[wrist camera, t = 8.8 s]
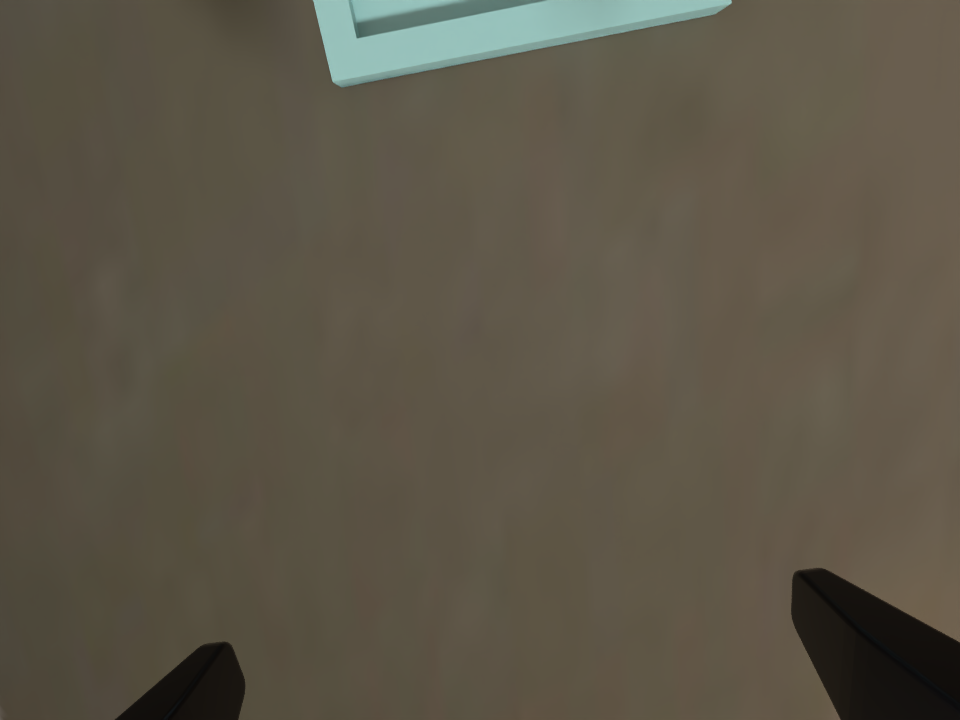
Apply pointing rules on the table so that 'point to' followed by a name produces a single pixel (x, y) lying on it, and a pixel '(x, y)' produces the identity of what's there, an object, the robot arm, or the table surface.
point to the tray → (473, 30)
